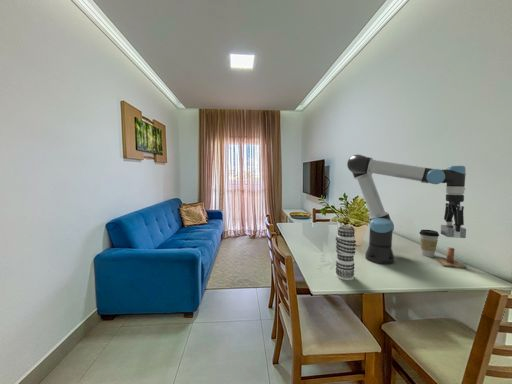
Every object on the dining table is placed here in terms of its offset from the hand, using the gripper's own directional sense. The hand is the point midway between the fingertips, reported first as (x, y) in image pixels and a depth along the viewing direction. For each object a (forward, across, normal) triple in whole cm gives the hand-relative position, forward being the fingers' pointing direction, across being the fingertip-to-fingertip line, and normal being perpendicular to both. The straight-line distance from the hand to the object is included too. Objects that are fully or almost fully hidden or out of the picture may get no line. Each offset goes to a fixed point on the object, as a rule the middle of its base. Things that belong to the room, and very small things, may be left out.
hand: (452, 235), depth 127 cm
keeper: (+16, 0, 0) cm, 16 cm away
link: (0, 0, 0) cm, 0 cm away
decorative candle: (+16, -34, +57) cm, 68 cm away
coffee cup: (+17, +13, +6) cm, 22 cm away
